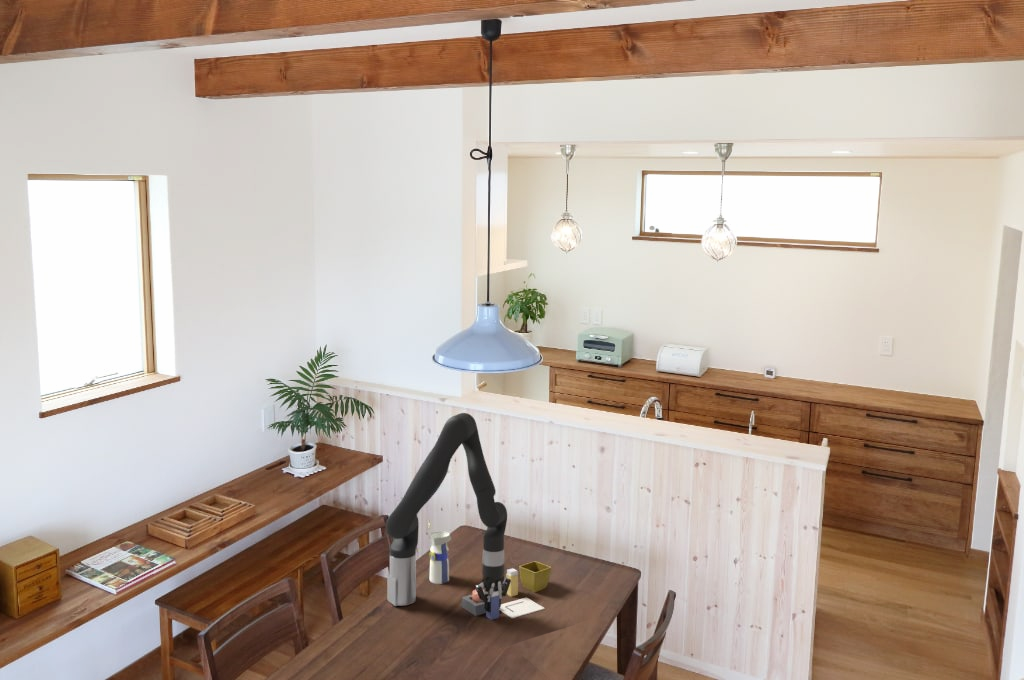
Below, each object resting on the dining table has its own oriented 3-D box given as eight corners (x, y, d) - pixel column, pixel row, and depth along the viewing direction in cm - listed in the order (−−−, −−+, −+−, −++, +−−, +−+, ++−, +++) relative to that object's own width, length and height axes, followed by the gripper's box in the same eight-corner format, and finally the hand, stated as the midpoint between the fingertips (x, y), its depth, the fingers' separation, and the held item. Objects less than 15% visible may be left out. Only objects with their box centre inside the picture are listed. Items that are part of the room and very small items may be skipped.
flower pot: (534, 583, 320) (534, 560, 319) (551, 590, 313) (551, 566, 312) (518, 589, 313) (518, 566, 312) (534, 596, 307) (535, 572, 306)
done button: (477, 607, 293) (477, 595, 292) (469, 601, 297) (469, 591, 296) (489, 603, 296) (489, 592, 295) (481, 598, 300) (481, 587, 299)
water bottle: (437, 590, 311) (437, 524, 309) (423, 583, 318) (423, 518, 315) (454, 584, 317) (455, 520, 314) (441, 578, 323) (441, 514, 320)
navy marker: (491, 619, 287) (491, 593, 286) (486, 616, 290) (486, 589, 289) (499, 617, 289) (499, 591, 288) (493, 614, 292) (494, 587, 291)
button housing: (475, 615, 290) (475, 606, 290) (461, 606, 298) (461, 597, 297) (497, 609, 295) (497, 600, 295) (483, 600, 303) (483, 591, 302)
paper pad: (512, 618, 289) (512, 617, 289) (494, 607, 298) (494, 606, 298) (544, 609, 297) (544, 608, 297) (526, 598, 306) (526, 597, 306)
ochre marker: (510, 597, 306) (511, 572, 305) (505, 594, 308) (506, 569, 307) (517, 595, 308) (518, 570, 307) (512, 592, 310) (513, 567, 309)
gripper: (481, 569, 280) (481, 618, 282) (516, 560, 288) (515, 609, 290) (470, 562, 286) (469, 610, 288) (504, 554, 295) (503, 601, 296)
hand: (492, 609), depth 289 cm, fingers closed on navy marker, 3 cm apart
